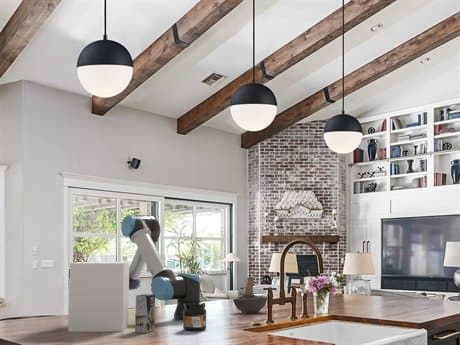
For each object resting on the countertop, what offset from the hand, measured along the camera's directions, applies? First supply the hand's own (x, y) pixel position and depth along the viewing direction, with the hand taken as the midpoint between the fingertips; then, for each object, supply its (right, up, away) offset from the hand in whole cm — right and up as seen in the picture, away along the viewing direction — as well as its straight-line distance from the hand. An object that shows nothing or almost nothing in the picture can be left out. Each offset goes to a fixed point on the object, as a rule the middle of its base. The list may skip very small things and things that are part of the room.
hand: (109, 271), depth 318 cm
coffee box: (+23, -21, -40) cm, 51 cm away
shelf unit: (+1, -21, -31) cm, 38 cm away
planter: (+73, -29, +33) cm, 85 cm away
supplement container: (+45, -21, -35) cm, 61 cm away
